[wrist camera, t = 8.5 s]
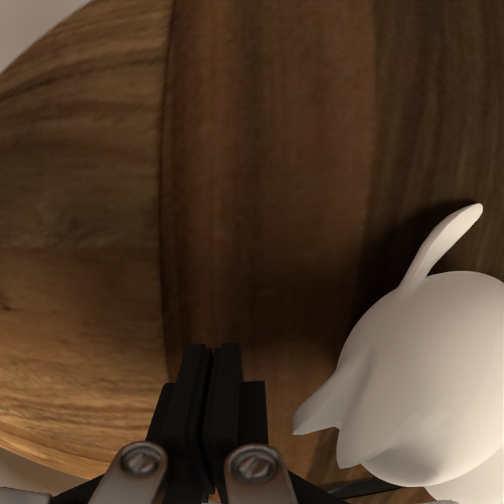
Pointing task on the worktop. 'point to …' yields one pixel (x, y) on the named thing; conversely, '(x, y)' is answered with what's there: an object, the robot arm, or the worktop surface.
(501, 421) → the cat figurine
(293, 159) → the worktop surface
